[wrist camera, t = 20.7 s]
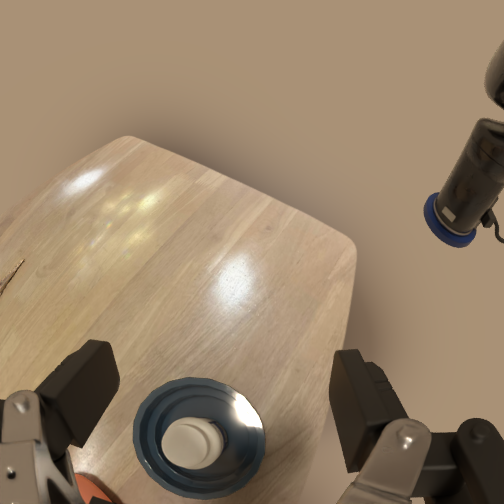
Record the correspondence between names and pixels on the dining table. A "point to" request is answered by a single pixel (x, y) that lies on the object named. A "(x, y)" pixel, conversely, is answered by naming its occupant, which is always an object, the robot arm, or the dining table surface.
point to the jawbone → (9, 276)
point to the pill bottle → (194, 442)
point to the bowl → (210, 406)
